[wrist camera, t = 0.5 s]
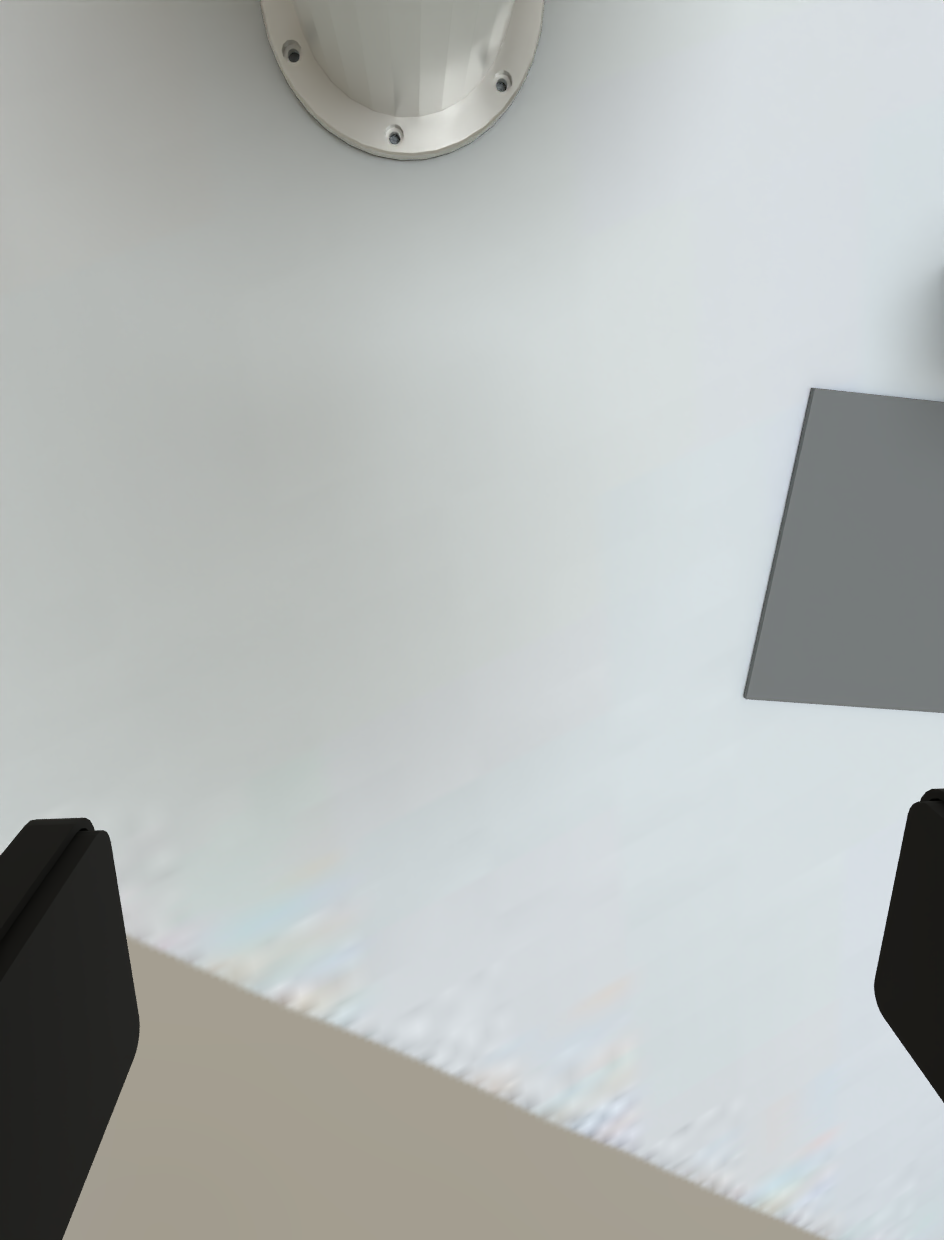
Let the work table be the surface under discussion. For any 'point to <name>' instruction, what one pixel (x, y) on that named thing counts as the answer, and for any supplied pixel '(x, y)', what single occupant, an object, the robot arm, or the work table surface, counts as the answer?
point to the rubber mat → (859, 561)
